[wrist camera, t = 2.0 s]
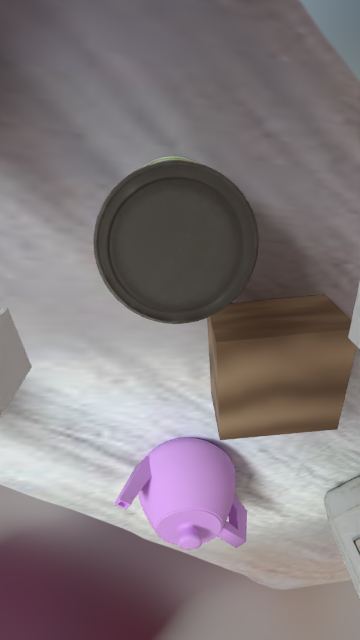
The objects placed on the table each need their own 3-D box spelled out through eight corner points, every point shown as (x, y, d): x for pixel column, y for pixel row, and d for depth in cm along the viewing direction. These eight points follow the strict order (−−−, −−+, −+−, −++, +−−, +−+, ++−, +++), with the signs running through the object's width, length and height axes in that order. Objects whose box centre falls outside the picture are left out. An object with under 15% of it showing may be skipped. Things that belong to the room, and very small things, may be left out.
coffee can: (129, 143, 28) (101, 139, 16) (235, 170, 30) (284, 185, 17) (116, 250, 33) (86, 310, 21) (207, 269, 35) (230, 335, 22)
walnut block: (206, 305, 37) (216, 342, 30) (323, 294, 37) (360, 328, 30) (211, 393, 44) (219, 440, 37) (309, 384, 43) (337, 429, 36)
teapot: (265, 457, 51) (291, 537, 41) (212, 505, 57) (222, 585, 47) (149, 409, 45) (144, 489, 34) (104, 469, 51) (87, 552, 40)
